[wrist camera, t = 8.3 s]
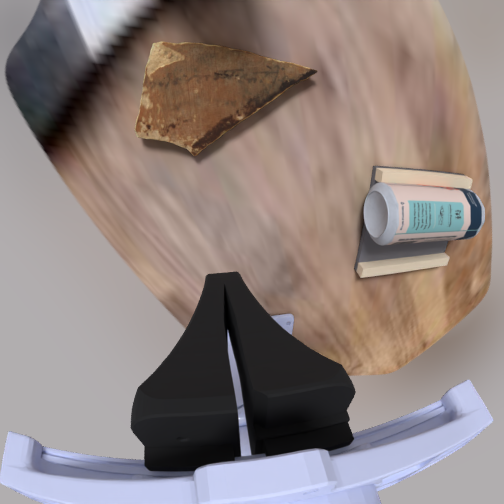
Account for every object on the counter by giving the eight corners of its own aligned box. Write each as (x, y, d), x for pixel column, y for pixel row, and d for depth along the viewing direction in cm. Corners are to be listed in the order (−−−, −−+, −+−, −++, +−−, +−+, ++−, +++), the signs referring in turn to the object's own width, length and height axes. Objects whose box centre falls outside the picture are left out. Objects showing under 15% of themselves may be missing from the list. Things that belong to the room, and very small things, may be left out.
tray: (439, 257, 29) (446, 265, 27) (354, 268, 27) (360, 277, 26) (462, 174, 23) (472, 179, 22) (373, 165, 22) (382, 171, 20)
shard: (310, 71, 18) (319, 70, 16) (284, 167, 21) (290, 174, 20) (155, 40, 15) (151, 37, 13) (136, 145, 19) (131, 151, 17)
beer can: (354, 219, 24) (448, 217, 26) (378, 259, 21) (473, 249, 22) (369, 170, 21) (465, 179, 22) (400, 207, 17) (495, 209, 19)
